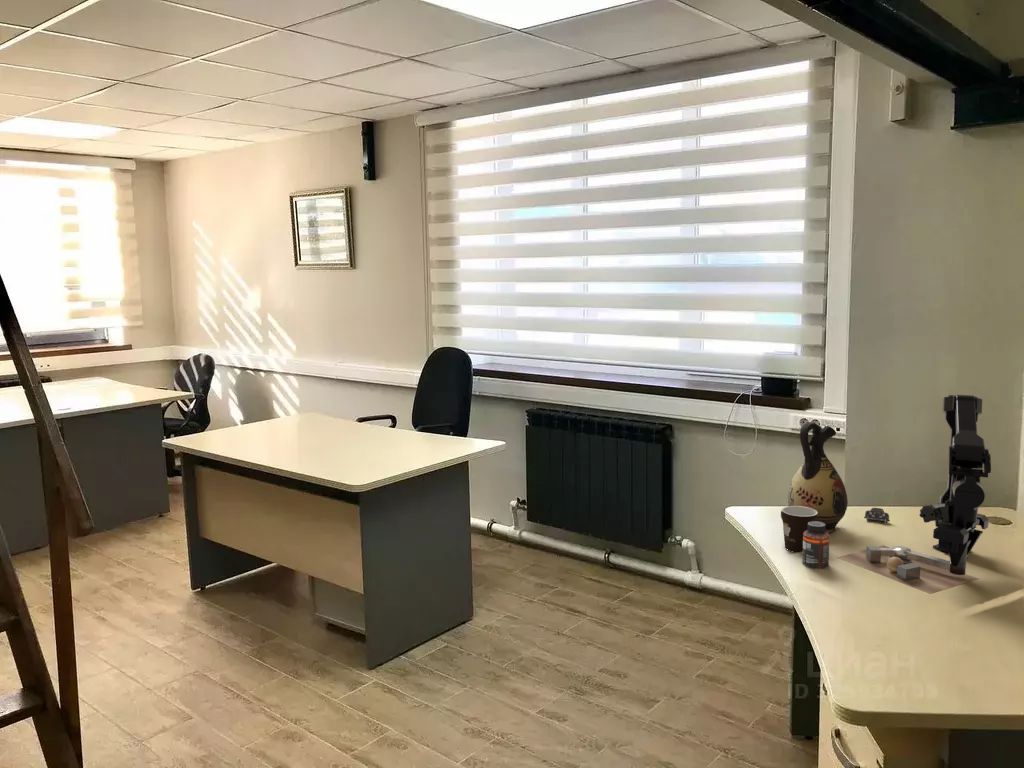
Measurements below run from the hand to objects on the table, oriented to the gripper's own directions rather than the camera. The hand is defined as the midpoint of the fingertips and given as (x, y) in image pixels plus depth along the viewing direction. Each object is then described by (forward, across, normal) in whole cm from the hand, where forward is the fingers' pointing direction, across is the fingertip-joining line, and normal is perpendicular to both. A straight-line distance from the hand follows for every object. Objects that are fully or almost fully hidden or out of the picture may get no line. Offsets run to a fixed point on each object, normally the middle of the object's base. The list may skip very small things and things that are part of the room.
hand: (958, 563), depth 185 cm
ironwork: (+3, +4, -11) cm, 12 cm away
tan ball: (+4, +7, -11) cm, 14 cm away
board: (+5, +2, -10) cm, 12 cm away
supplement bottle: (+5, +15, -27) cm, 31 cm away
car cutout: (+5, -32, -26) cm, 42 cm away
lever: (+3, +2, -9) cm, 10 cm away
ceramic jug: (+5, -13, -40) cm, 43 cm away
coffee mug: (+5, +3, -37) cm, 37 cm away
